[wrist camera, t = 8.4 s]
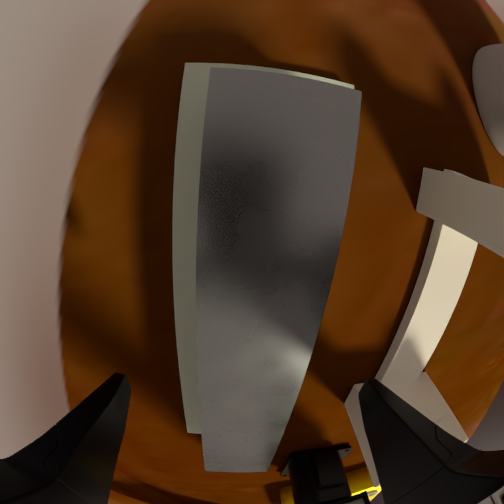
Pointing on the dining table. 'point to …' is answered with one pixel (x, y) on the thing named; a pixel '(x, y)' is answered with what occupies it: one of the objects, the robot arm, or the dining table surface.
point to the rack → (436, 294)
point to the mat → (194, 220)
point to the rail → (265, 250)
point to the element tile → (357, 483)
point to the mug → (490, 91)
